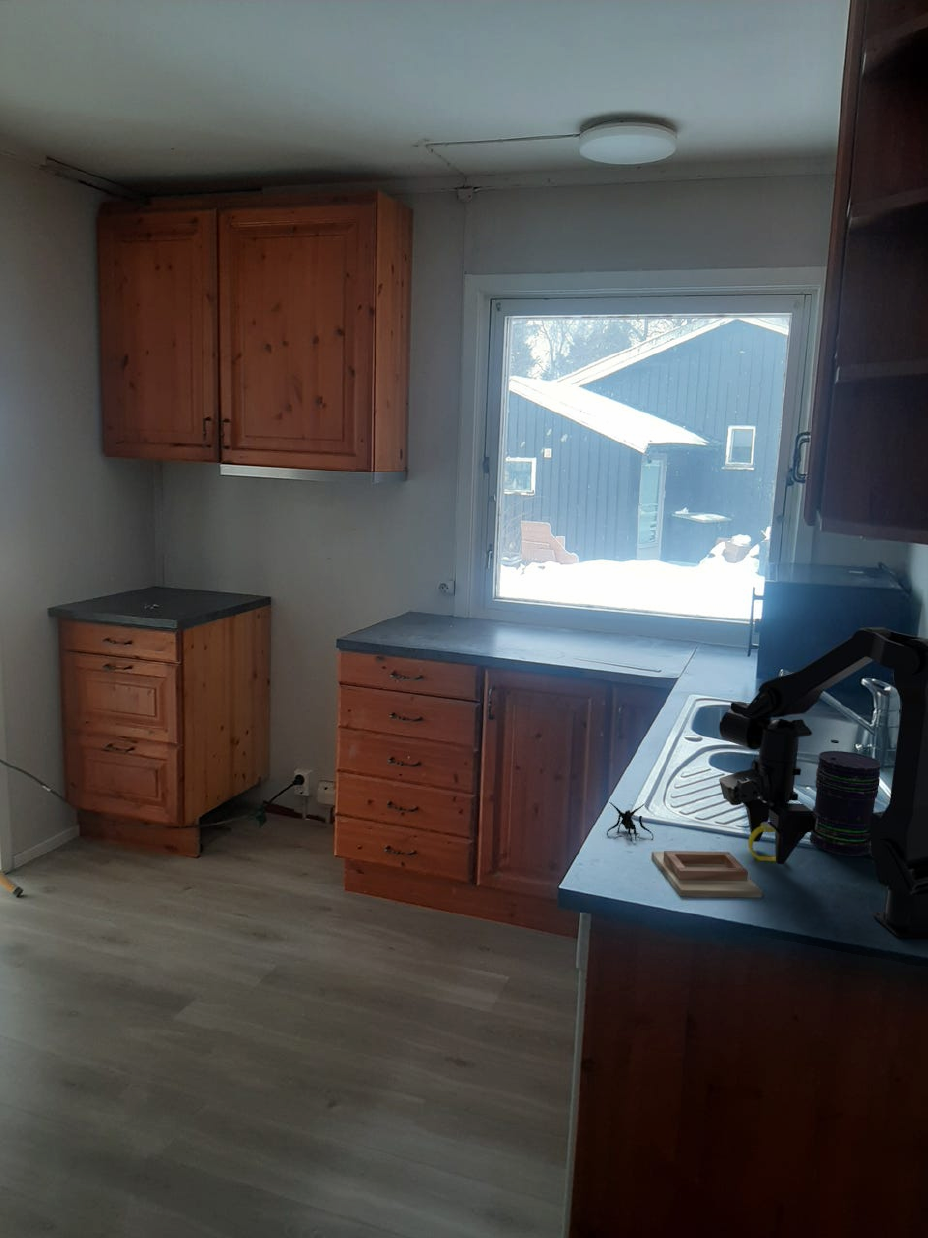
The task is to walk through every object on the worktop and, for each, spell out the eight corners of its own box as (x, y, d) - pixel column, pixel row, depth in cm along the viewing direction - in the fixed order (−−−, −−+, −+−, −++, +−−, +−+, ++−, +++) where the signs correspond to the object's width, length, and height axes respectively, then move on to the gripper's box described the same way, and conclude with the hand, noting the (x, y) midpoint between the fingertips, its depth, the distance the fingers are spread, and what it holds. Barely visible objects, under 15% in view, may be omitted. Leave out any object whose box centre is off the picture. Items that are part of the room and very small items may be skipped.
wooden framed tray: (760, 897, 135) (762, 881, 135) (680, 896, 134) (682, 880, 134) (724, 858, 149) (726, 844, 149) (651, 857, 148) (652, 842, 147)
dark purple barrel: (855, 835, 163) (868, 735, 161) (881, 857, 154) (895, 751, 151) (799, 832, 163) (810, 732, 161) (822, 854, 153) (834, 748, 151)
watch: (751, 864, 149) (752, 828, 148) (746, 857, 151) (747, 821, 150) (789, 863, 148) (790, 827, 148) (783, 857, 151) (784, 821, 150)
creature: (656, 851, 154) (646, 824, 161) (660, 823, 152) (650, 797, 159) (608, 849, 154) (601, 822, 161) (612, 821, 152) (605, 795, 159)
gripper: (707, 740, 156) (698, 830, 158) (752, 775, 137) (742, 876, 140) (771, 742, 157) (761, 831, 159) (824, 776, 139) (813, 877, 141)
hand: (767, 852), depth 150 cm, fingers open, 9 cm apart
